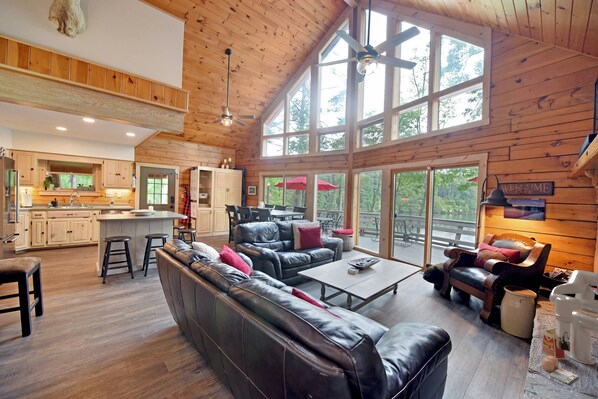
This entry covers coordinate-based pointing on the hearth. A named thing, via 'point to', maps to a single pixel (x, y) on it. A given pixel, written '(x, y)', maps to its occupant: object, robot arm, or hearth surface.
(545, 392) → the hearth surface
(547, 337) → the milk carton
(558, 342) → the brown cube
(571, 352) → the robot arm
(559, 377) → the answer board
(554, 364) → the peach egg shape
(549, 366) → the egg
